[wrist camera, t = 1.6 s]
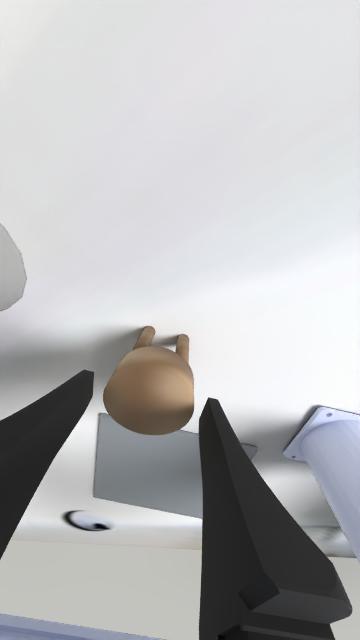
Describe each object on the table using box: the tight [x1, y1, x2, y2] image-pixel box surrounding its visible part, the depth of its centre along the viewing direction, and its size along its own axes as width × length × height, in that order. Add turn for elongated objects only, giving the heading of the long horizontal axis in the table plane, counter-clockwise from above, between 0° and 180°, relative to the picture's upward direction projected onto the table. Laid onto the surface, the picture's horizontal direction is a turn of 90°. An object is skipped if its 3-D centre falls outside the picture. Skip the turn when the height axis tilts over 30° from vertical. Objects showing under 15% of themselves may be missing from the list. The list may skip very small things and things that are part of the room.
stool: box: [103, 326, 194, 435], centre depth 13 cm, size 5×5×6 cm
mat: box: [93, 413, 257, 519], centre depth 24 cm, size 18×18×1 cm
